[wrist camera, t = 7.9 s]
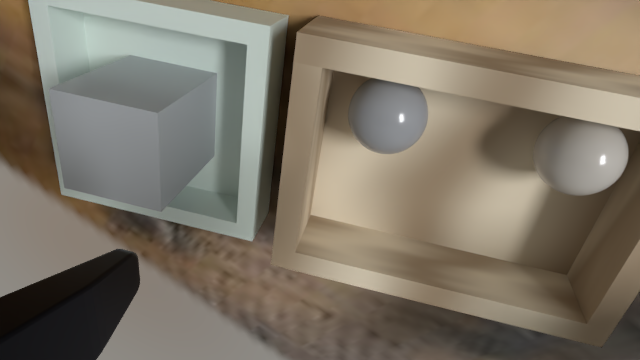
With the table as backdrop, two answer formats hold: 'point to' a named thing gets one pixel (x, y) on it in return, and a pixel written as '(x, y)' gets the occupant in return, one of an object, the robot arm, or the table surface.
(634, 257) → the crate
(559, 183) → the grey ball
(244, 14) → the tub
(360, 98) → the grey ball
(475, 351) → the table surface
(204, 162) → the stone block
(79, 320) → the robot arm
